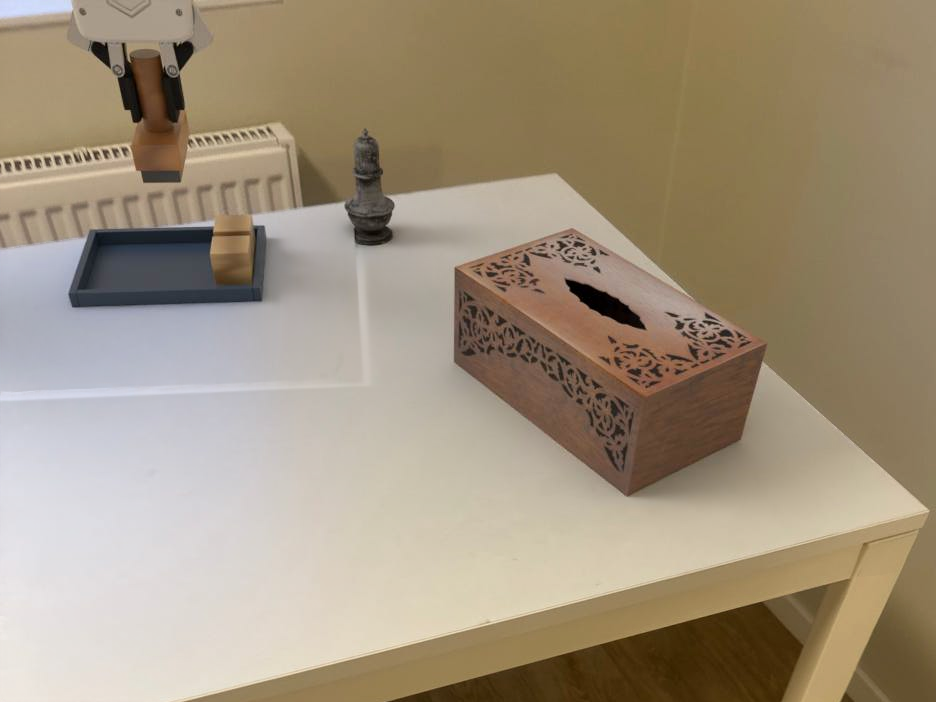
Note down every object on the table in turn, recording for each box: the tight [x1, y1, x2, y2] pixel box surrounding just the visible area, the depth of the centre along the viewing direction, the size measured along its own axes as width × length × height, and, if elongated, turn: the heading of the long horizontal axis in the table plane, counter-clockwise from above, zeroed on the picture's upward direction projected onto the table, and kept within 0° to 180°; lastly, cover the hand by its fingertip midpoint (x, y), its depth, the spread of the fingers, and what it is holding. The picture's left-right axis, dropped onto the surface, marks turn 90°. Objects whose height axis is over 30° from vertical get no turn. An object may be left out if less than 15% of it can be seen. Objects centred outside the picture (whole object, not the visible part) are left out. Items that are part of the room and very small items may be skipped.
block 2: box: [210, 236, 254, 286], centre depth 104 cm, size 4×4×4 cm
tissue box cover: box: [453, 227, 768, 497], centre depth 90 cm, size 26×14×10 cm, turn 37°
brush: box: [128, 48, 191, 184], centre depth 93 cm, size 4×9×10 cm, turn 7°
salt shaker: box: [344, 127, 396, 246], centre depth 111 cm, size 6×6×12 cm
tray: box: [67, 224, 267, 308], centre depth 106 cm, size 20×15×2 cm
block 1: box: [213, 214, 256, 264], centre depth 107 cm, size 4×4×4 cm
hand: (156, 115), depth 94 cm, fingers closed on brush, 2 cm apart
